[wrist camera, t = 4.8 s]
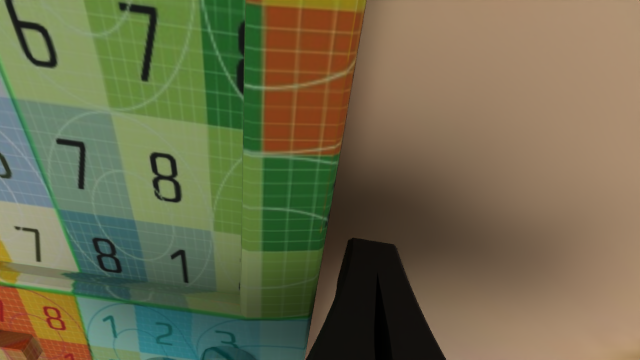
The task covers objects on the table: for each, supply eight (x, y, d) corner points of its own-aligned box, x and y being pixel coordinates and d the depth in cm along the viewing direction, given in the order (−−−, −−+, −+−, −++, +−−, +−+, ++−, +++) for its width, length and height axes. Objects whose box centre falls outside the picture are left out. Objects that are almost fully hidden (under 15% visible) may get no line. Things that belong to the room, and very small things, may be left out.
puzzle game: (-15, 436, 16) (-911, -441, 4) (55, 328, 20) (-275, -300, 7) (285, 479, 16) (414, -250, 4) (299, 362, 20) (391, -205, 7)
